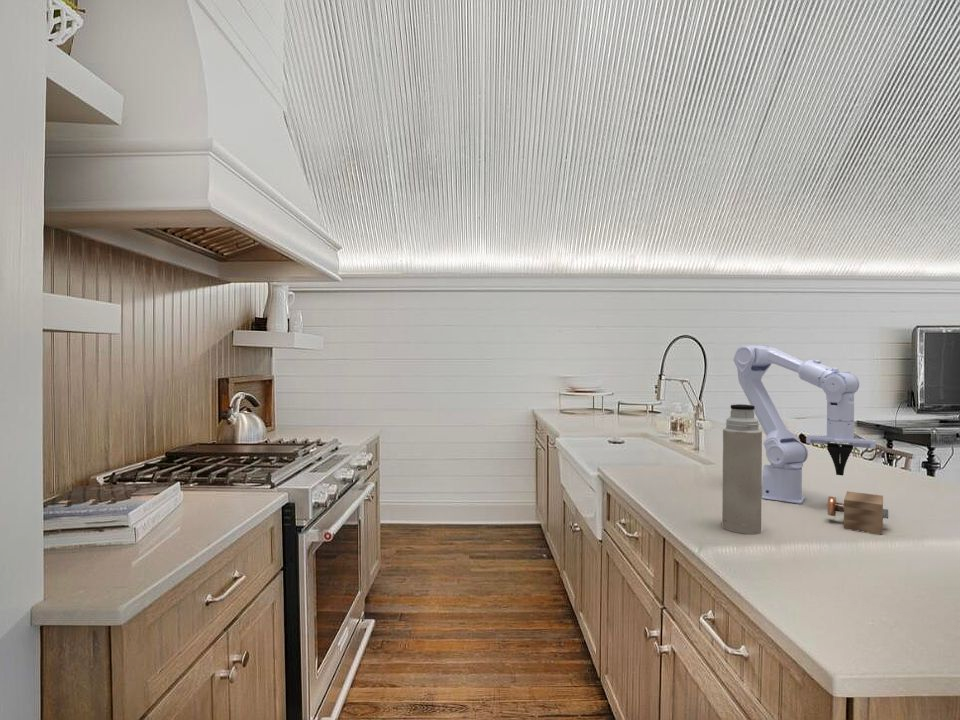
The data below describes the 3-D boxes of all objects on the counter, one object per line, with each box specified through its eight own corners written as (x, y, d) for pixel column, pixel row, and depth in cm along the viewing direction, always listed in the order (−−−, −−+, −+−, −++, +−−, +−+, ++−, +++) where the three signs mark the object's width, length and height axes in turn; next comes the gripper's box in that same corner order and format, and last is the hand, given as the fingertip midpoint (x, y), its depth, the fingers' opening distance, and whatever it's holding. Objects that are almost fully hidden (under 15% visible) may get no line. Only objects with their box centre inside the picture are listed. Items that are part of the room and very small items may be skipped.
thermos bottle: (720, 521, 131) (721, 402, 130) (758, 525, 128) (759, 403, 128) (723, 531, 123) (724, 405, 123) (763, 535, 120) (764, 406, 120)
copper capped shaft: (827, 517, 130) (827, 498, 130) (829, 513, 133) (829, 494, 133) (888, 526, 123) (888, 506, 123) (888, 521, 127) (888, 502, 127)
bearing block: (843, 528, 126) (844, 499, 126) (846, 518, 134) (847, 491, 134) (882, 534, 121) (882, 504, 121) (882, 523, 129) (883, 495, 129)
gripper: (804, 419, 141) (804, 473, 141) (874, 424, 132) (874, 481, 132) (808, 417, 146) (808, 469, 146) (876, 421, 137) (876, 476, 137)
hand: (839, 474), depth 139 cm, fingers closed
